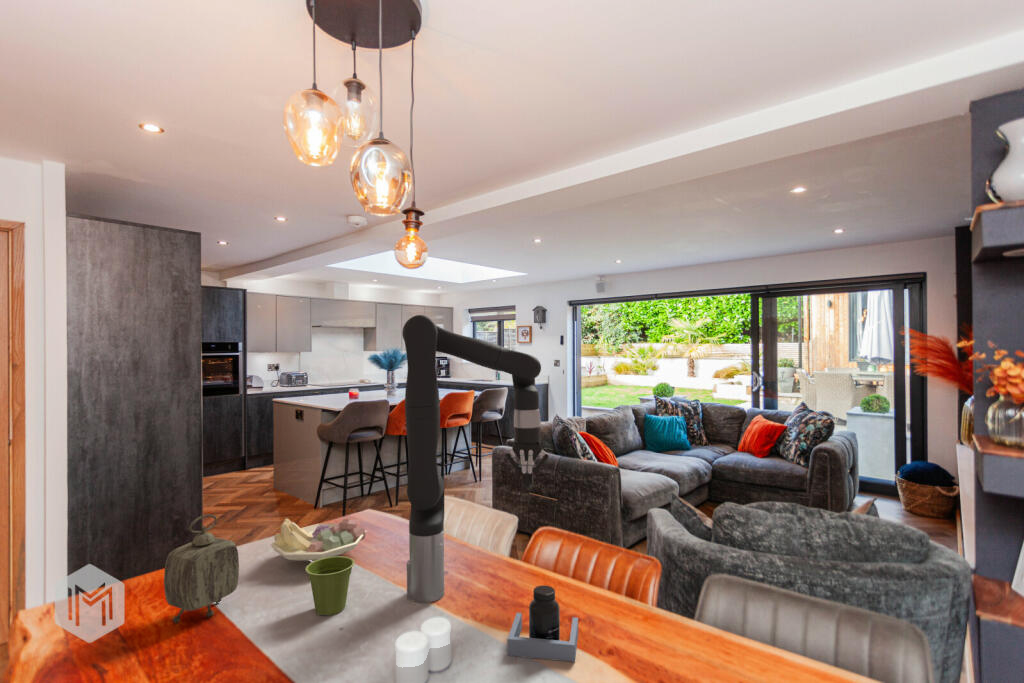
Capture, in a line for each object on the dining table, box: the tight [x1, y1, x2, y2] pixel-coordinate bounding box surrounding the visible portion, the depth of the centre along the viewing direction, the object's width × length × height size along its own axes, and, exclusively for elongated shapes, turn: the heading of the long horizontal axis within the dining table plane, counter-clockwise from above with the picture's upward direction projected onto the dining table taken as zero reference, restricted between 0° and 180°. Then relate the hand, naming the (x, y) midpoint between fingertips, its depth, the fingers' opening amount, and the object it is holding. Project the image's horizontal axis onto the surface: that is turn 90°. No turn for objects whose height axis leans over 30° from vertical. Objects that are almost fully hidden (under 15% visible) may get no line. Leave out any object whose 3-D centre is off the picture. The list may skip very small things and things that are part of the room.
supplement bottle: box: [528, 585, 561, 641], centre depth 114 cm, size 7×7×12 cm
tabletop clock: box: [163, 513, 240, 624], centre depth 129 cm, size 14×9×25 cm, turn 154°
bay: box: [506, 612, 579, 663], centre depth 114 cm, size 14×11×4 cm
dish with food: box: [270, 518, 368, 562], centre depth 162 cm, size 28×28×14 cm
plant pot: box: [305, 555, 355, 616], centre depth 131 cm, size 12×12×11 cm
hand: (527, 486), depth 145 cm, fingers closed
